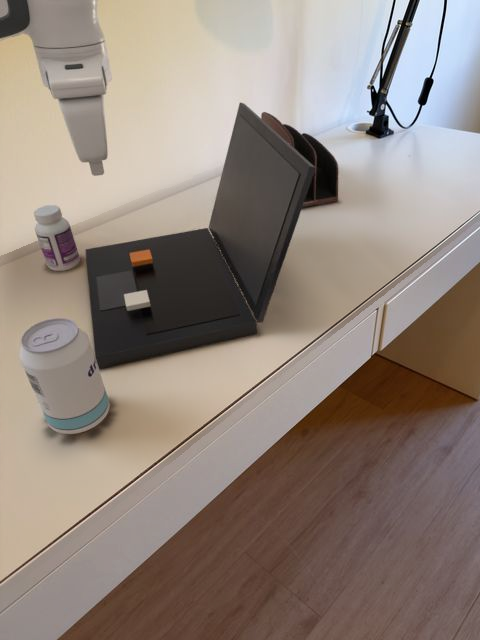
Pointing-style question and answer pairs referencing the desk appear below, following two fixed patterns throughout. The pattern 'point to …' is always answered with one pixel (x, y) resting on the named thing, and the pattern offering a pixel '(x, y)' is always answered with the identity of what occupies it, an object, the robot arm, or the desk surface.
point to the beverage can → (64, 375)
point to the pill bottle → (56, 238)
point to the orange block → (141, 257)
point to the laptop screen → (258, 206)
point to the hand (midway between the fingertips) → (97, 172)
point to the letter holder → (311, 149)
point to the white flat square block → (137, 300)
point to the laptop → (164, 298)
